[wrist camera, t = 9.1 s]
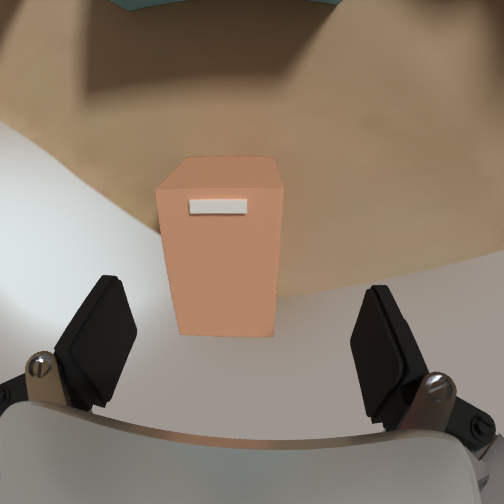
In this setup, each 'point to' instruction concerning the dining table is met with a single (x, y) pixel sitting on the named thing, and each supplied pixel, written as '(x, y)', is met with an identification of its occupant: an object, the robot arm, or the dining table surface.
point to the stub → (223, 244)
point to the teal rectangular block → (141, 0)
